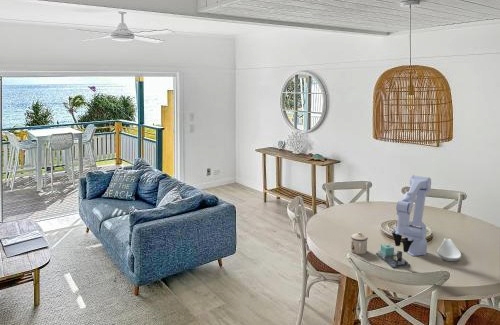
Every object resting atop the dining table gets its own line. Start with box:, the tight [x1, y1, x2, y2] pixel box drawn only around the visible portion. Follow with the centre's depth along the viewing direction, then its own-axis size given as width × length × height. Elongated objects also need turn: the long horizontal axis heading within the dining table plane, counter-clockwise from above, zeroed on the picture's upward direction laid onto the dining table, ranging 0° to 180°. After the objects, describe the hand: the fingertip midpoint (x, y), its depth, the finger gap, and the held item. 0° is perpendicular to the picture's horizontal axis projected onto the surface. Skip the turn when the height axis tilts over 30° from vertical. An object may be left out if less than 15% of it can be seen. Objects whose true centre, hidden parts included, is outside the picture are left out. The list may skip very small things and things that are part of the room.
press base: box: [375, 250, 411, 269], centre depth 215 cm, size 10×18×2 cm, turn 11°
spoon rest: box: [436, 237, 462, 262], centre depth 220 cm, size 24×12×7 cm, turn 159°
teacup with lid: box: [350, 231, 369, 255], centre depth 224 cm, size 12×9×12 cm
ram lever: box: [393, 250, 405, 265], centre depth 209 cm, size 4×6×6 cm, turn 11°
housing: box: [380, 243, 395, 255], centre depth 219 cm, size 5×5×5 cm
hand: (401, 248), depth 205 cm, fingers open, 7 cm apart
